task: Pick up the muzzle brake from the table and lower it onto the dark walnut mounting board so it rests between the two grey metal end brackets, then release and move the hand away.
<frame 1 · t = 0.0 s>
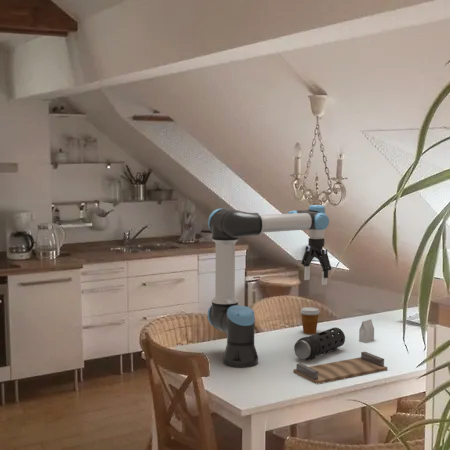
hand: (315, 282, 325), 28 cm above the table, tool pointing down, fingers open, 13 cm apart
grey paper bag: (366, 341, 327), on the table
disposable coffee cup: (309, 333, 341), on the table
mounting board: (340, 371, 282), on the table
muzzle brake: (319, 356, 304), on the table
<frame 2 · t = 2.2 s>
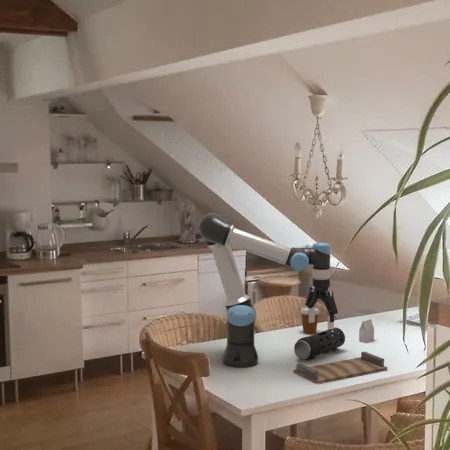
hand: (321, 325, 302), 13 cm above the table, tool pointing down, fingers open, 13 cm apart
nothing on the table moved.
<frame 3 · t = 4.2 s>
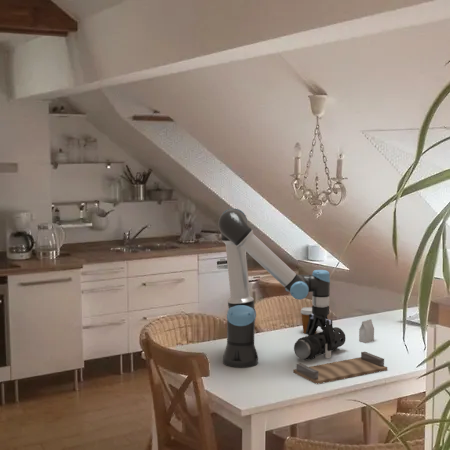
hand: (319, 354, 303), 1 cm above the table, tool pointing down, fingers closed on muzzle brake, 11 cm apart
muzzle brake: (319, 355, 304), on the table, touching gripper
everything else where it was.
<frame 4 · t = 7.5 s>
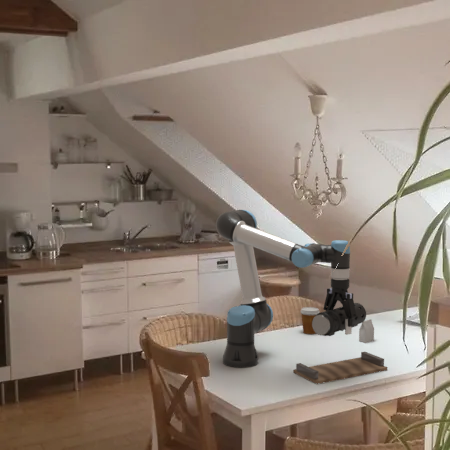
hand: (339, 331, 283), 16 cm above the table, tool pointing down, fingers closed on muzzle brake, 11 cm apart
muzzle brake: (339, 332, 283), point 15 cm above the table, touching gripper
everything else where it was.
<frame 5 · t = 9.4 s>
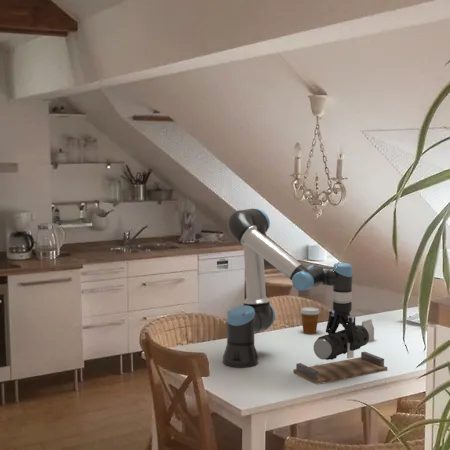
hand: (341, 354, 281), 7 cm above the table, tool pointing down, fingers closed on muzzle brake, 11 cm apart
muzzle brake: (341, 355, 281), point 6 cm above the table, touching gripper
everything else where it was.
when the fingers open (4 cm above the table, at t = 11.1 s): muzzle brake drops 2 cm, resting on mounting board.
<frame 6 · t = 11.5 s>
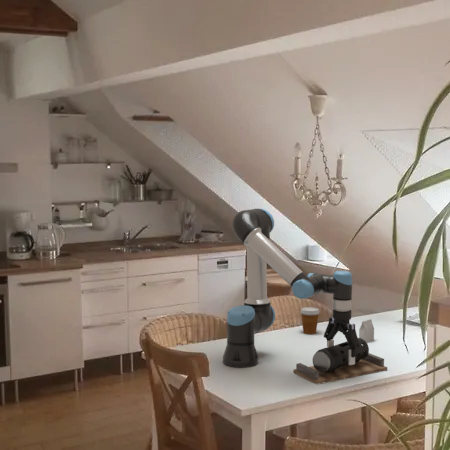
hand: (340, 360, 281), 5 cm above the table, tool pointing down, fingers open, 13 cm apart
muzzle brake: (340, 368, 282), point 1 cm above the table, touching mounting board
everything else where it was.
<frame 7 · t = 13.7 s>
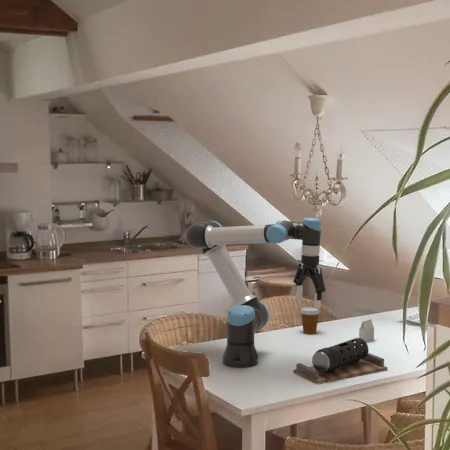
hand: (307, 304, 292), 25 cm above the table, tool pointing down, fingers open, 13 cm apart
nothing on the table moved.
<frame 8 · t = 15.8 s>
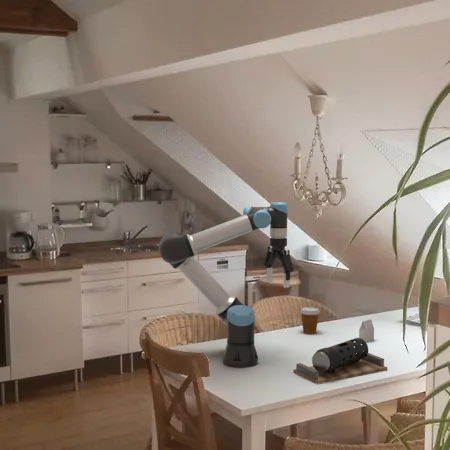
hand: (277, 284, 305), 31 cm above the table, tool pointing down, fingers open, 13 cm apart
nothing on the table moved.
at the end: muzzle brake 0.3 cm off-centre on the mounting board, point 1.0 cm above the mounting board's base; muzzle brake tilted 0°; the gripper is holding nothing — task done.
